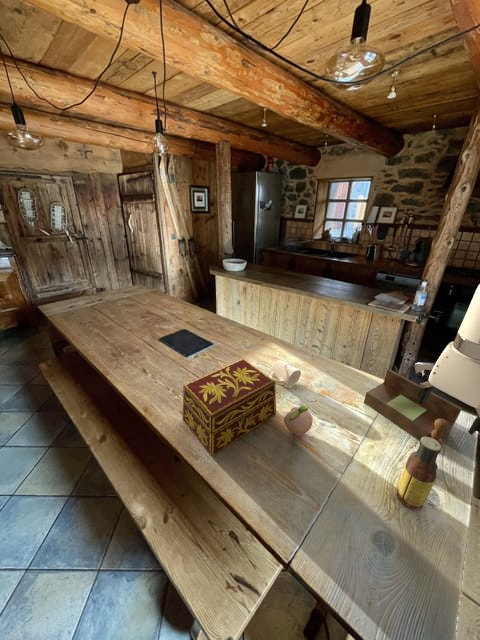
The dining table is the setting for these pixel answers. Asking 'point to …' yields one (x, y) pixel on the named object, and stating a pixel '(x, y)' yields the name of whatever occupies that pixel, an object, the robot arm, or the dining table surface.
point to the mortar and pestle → (438, 431)
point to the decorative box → (228, 404)
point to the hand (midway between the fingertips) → (445, 415)
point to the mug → (284, 374)
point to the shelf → (410, 406)
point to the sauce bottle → (419, 474)
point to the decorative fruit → (298, 420)
